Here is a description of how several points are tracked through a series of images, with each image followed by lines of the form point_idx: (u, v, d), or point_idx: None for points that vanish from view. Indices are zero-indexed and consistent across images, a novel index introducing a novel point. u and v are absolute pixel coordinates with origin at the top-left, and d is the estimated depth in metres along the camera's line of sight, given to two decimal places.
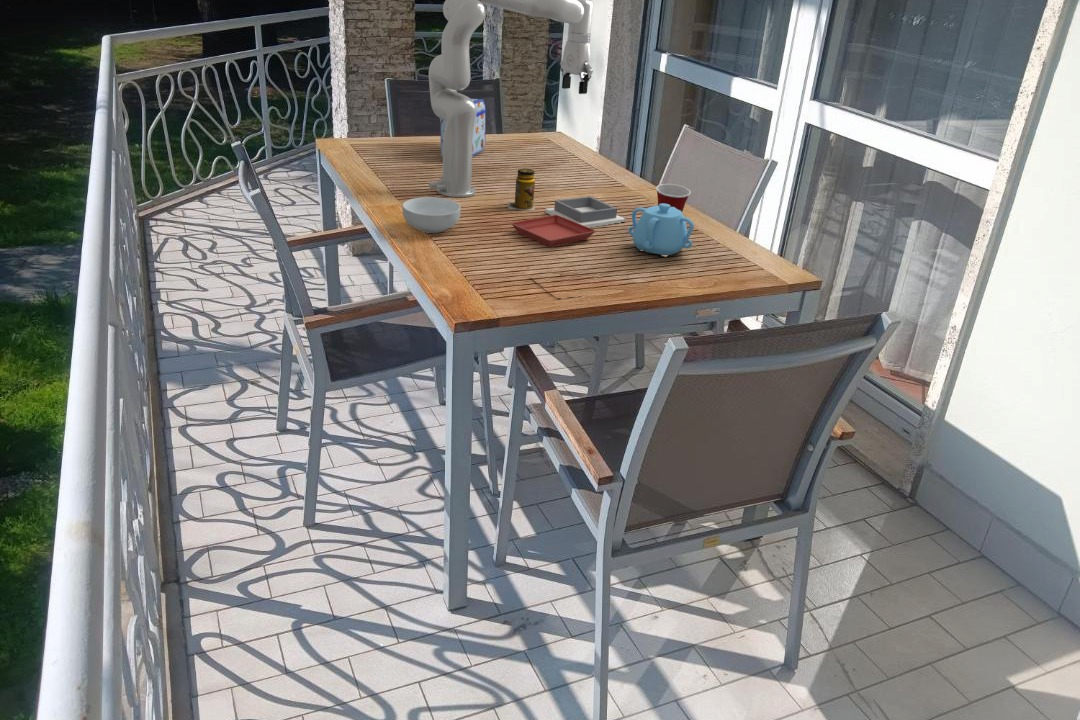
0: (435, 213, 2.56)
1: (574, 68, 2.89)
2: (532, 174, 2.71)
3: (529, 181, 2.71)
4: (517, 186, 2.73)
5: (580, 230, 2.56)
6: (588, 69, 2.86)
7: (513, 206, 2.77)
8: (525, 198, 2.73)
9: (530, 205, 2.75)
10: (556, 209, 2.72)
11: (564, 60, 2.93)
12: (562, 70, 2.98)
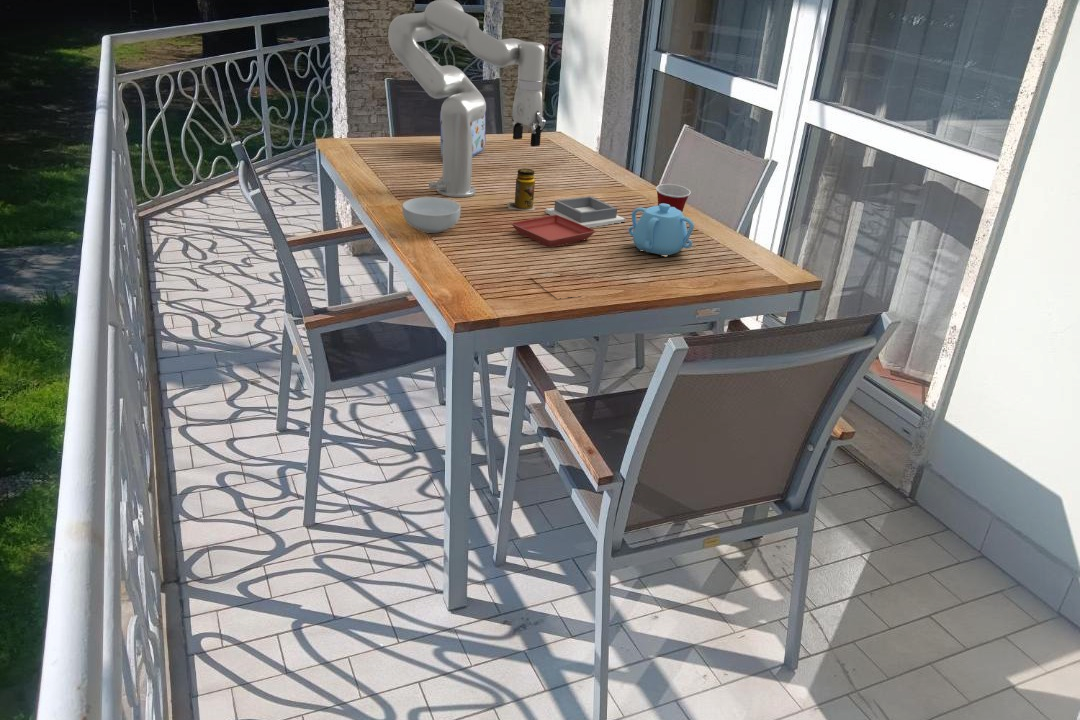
0: (435, 213, 2.56)
1: (525, 119, 2.62)
2: (532, 174, 2.71)
3: (529, 181, 2.71)
4: (517, 186, 2.73)
5: (580, 230, 2.56)
6: (540, 120, 2.59)
7: (513, 206, 2.77)
8: (525, 198, 2.73)
9: (530, 205, 2.75)
10: (556, 209, 2.72)
11: (514, 109, 2.66)
12: (513, 119, 2.70)
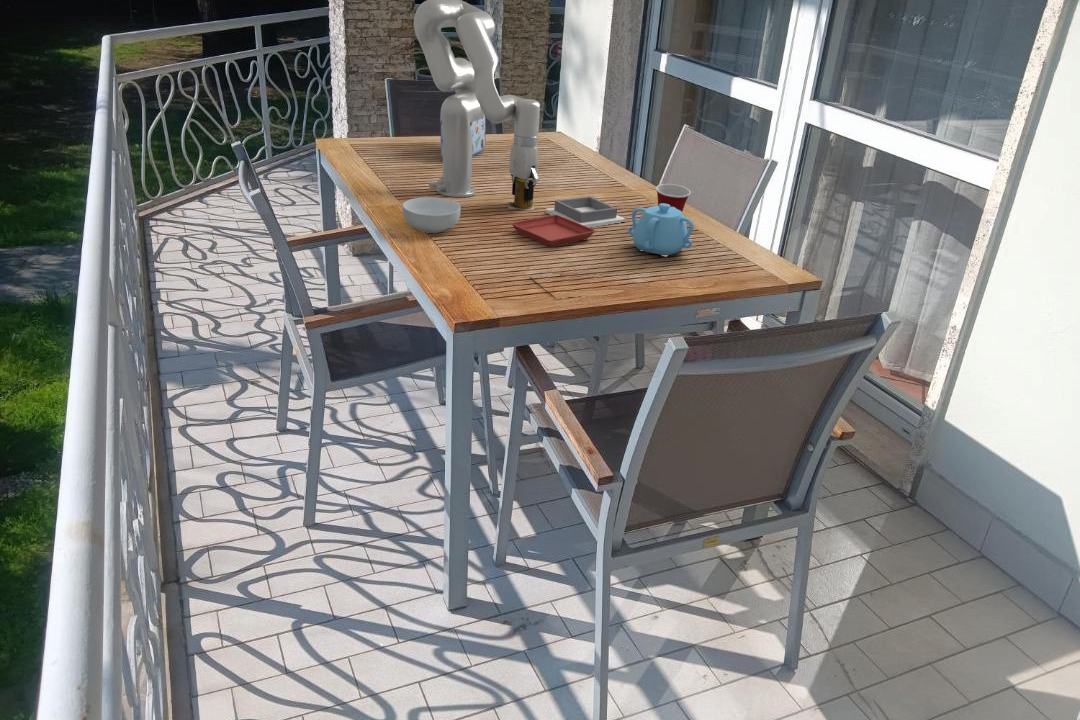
0: (435, 213, 2.56)
1: (521, 173, 2.69)
2: None
3: (528, 181, 2.71)
4: (517, 186, 2.73)
5: (580, 230, 2.56)
6: (534, 178, 2.67)
7: (513, 206, 2.77)
8: None
9: (530, 205, 2.75)
10: (556, 209, 2.72)
11: (510, 163, 2.73)
12: (512, 175, 2.77)
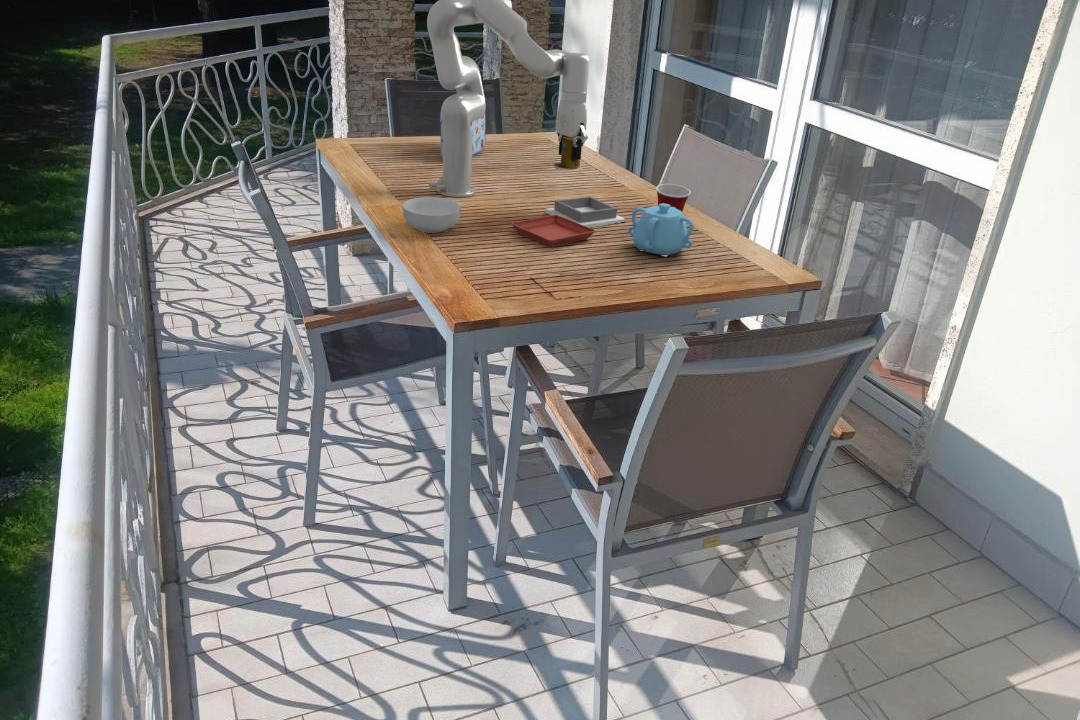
0: (435, 213, 2.56)
1: (569, 130, 2.58)
2: None
3: None
4: (564, 144, 2.62)
5: (580, 230, 2.56)
6: (583, 135, 2.57)
7: (559, 166, 2.67)
8: None
9: (577, 164, 2.65)
10: (556, 209, 2.72)
11: (557, 121, 2.62)
12: (558, 135, 2.66)
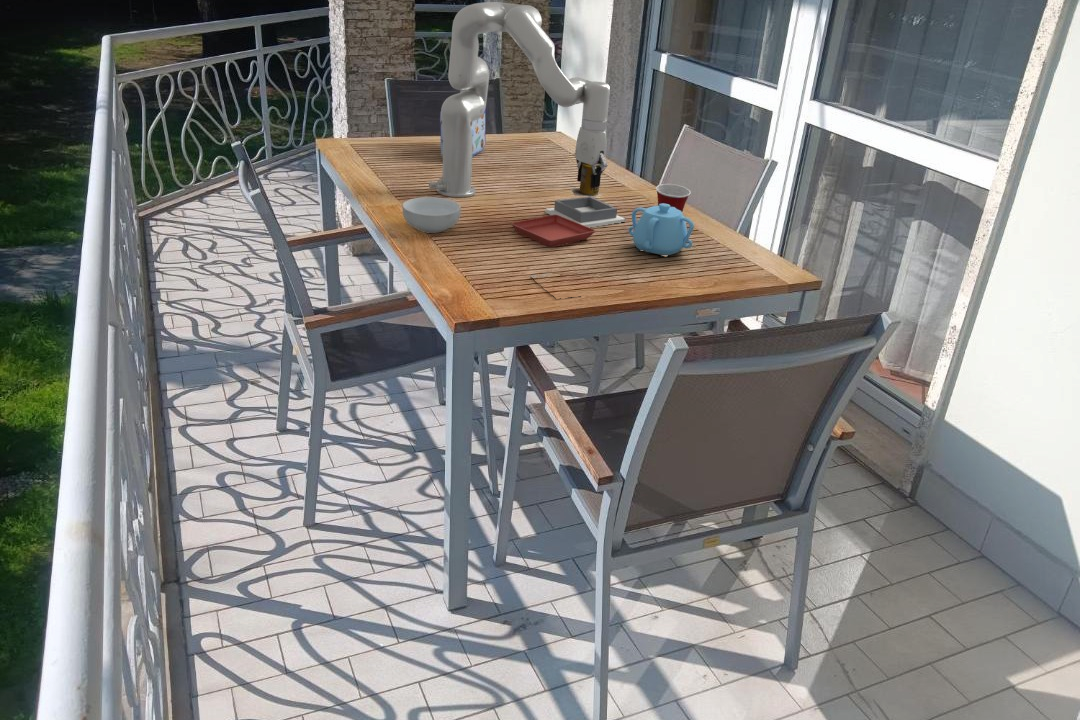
0: (435, 213, 2.56)
1: (589, 158, 2.60)
2: None
3: (596, 166, 2.62)
4: (583, 171, 2.64)
5: (580, 230, 2.56)
6: (602, 163, 2.58)
7: (578, 192, 2.68)
8: None
9: (596, 191, 2.67)
10: (556, 209, 2.72)
11: (577, 148, 2.64)
12: (577, 161, 2.68)
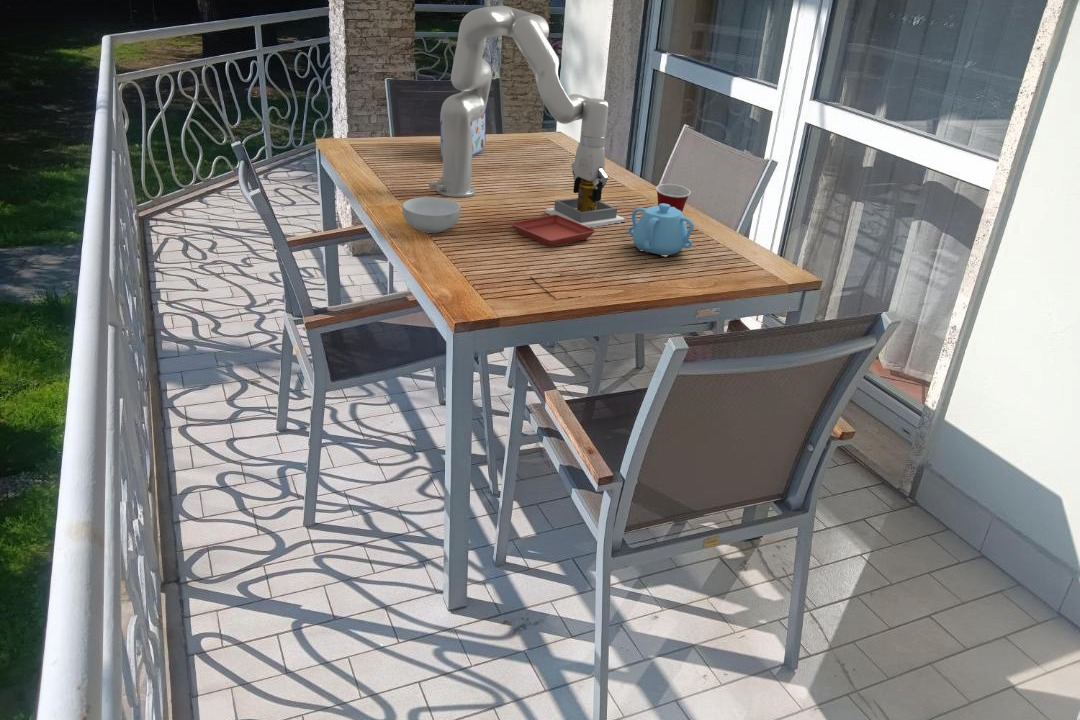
0: (435, 213, 2.56)
1: (587, 174, 2.62)
2: None
3: (593, 187, 2.65)
4: (580, 192, 2.67)
5: (580, 230, 2.56)
6: (602, 176, 2.60)
7: None
8: (589, 205, 2.68)
9: None
10: (556, 209, 2.72)
11: (575, 164, 2.66)
12: (574, 173, 2.71)
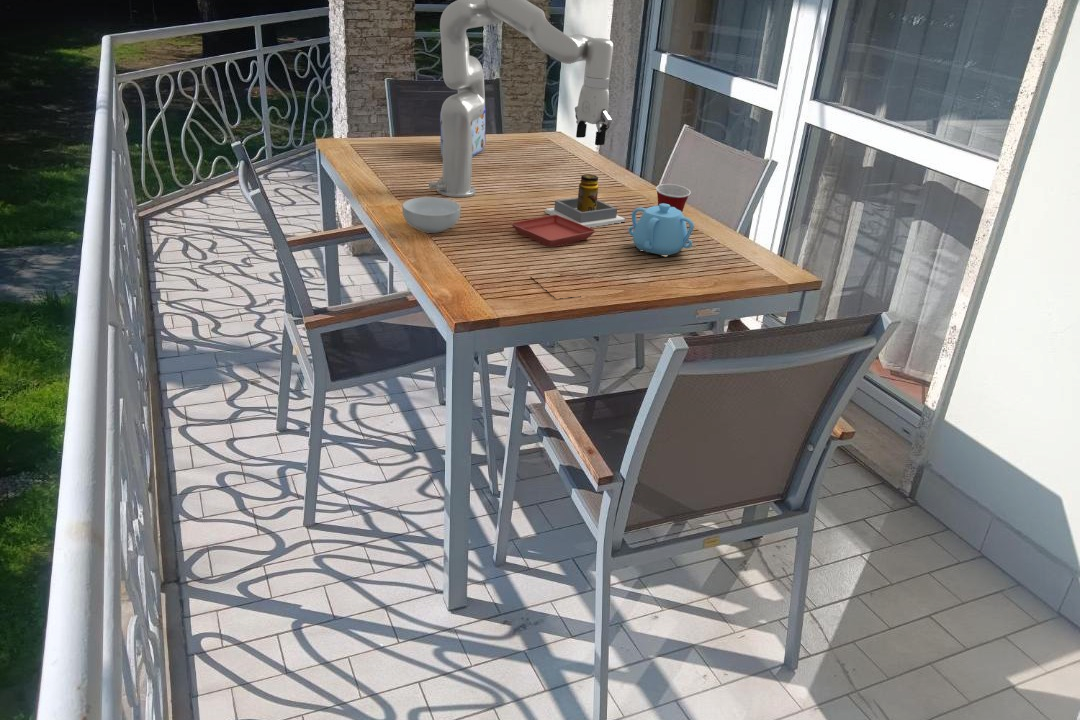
0: (435, 213, 2.56)
1: (590, 116, 2.56)
2: (596, 180, 2.66)
3: (593, 187, 2.65)
4: (580, 192, 2.67)
5: (580, 230, 2.56)
6: (606, 118, 2.53)
7: None
8: (589, 205, 2.68)
9: None
10: (556, 209, 2.72)
11: (579, 107, 2.60)
12: (577, 117, 2.65)
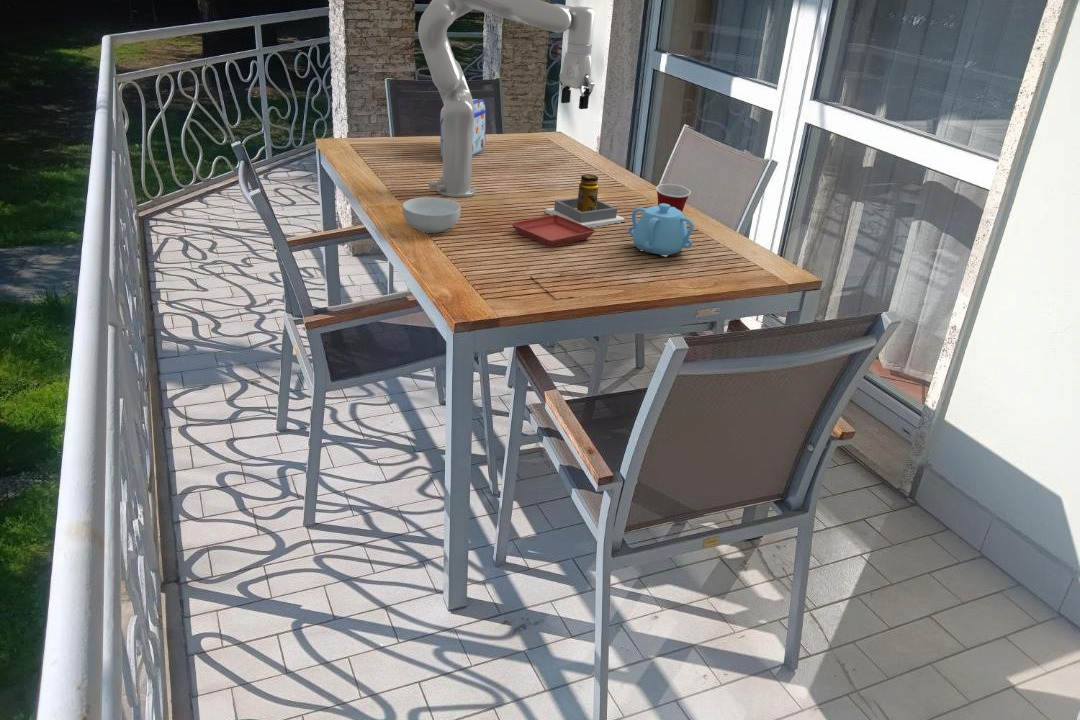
0: (435, 213, 2.56)
1: (574, 81, 2.69)
2: (596, 180, 2.66)
3: (593, 187, 2.65)
4: (580, 192, 2.67)
5: (580, 230, 2.56)
6: (589, 83, 2.67)
7: None
8: (589, 205, 2.68)
9: None
10: (556, 209, 2.72)
11: (563, 73, 2.73)
12: (561, 83, 2.78)
